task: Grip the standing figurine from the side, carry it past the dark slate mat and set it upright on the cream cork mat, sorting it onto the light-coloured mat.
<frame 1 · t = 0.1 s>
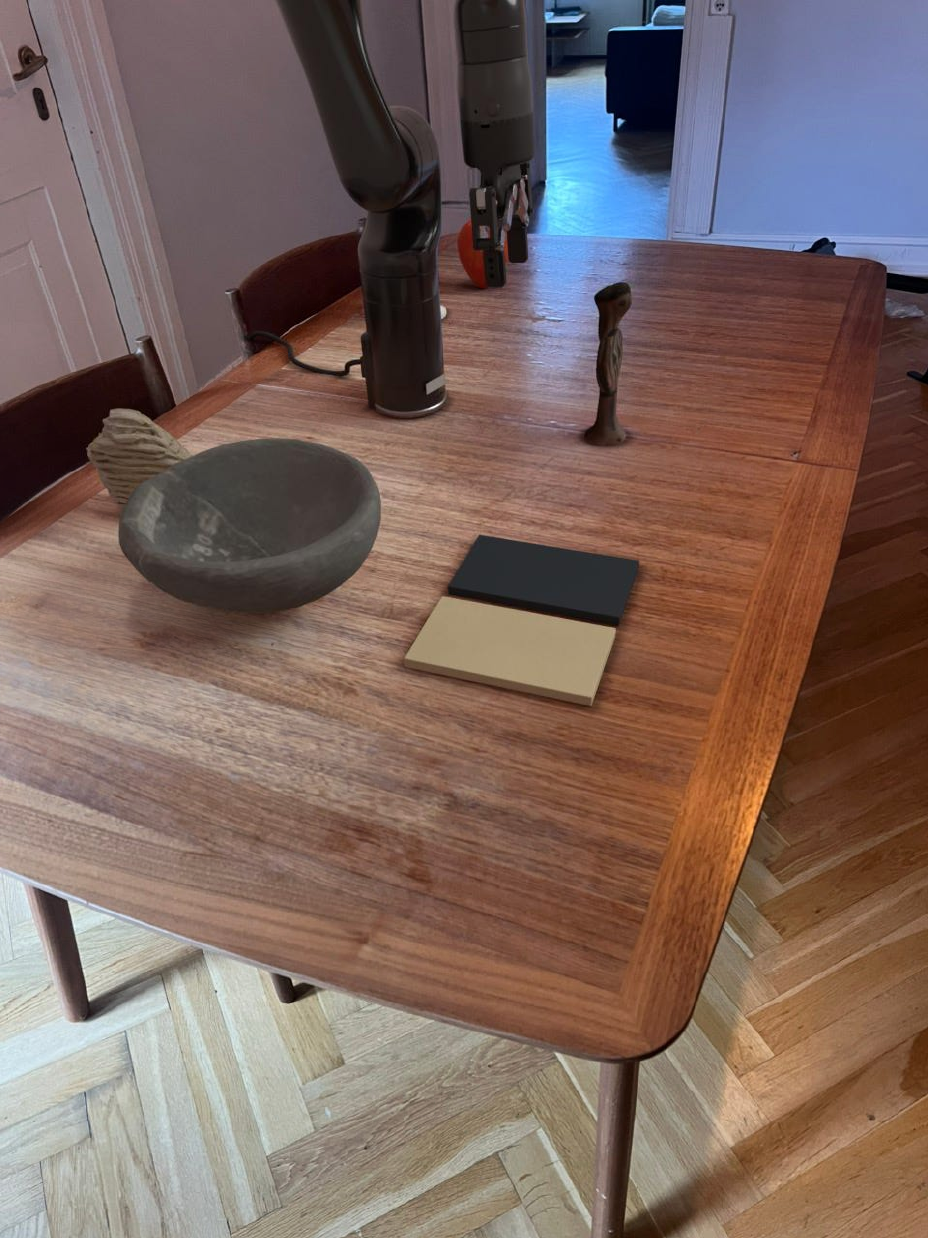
hand: (507, 273, 100), 17 cm above the table, tool pointing down, fingers open, 8 cm apart
dark mat: (544, 581, 83), on the table
fossil tooth: (167, 508, 96), on the table
apple: (484, 287, 149), on the table
cream mat: (511, 651, 75), on the table
bowl: (271, 583, 85), on the table
candle: (424, 316, 139), on the table
figurine: (603, 439, 105), on the table
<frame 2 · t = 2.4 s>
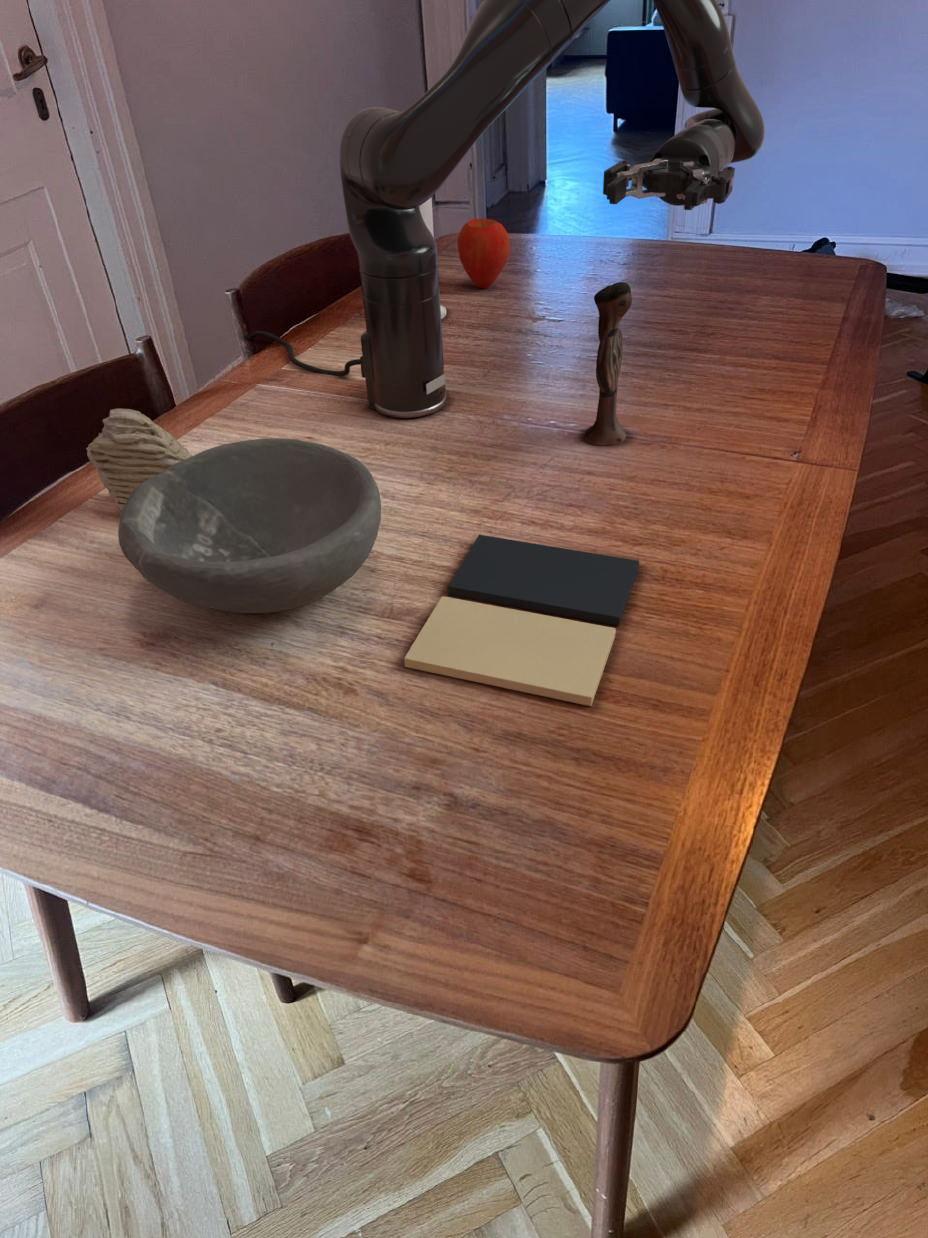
hand: (649, 197, 97), 24 cm above the table, tool horizontal, fingers open, 8 cm apart
nothing on the table moved.
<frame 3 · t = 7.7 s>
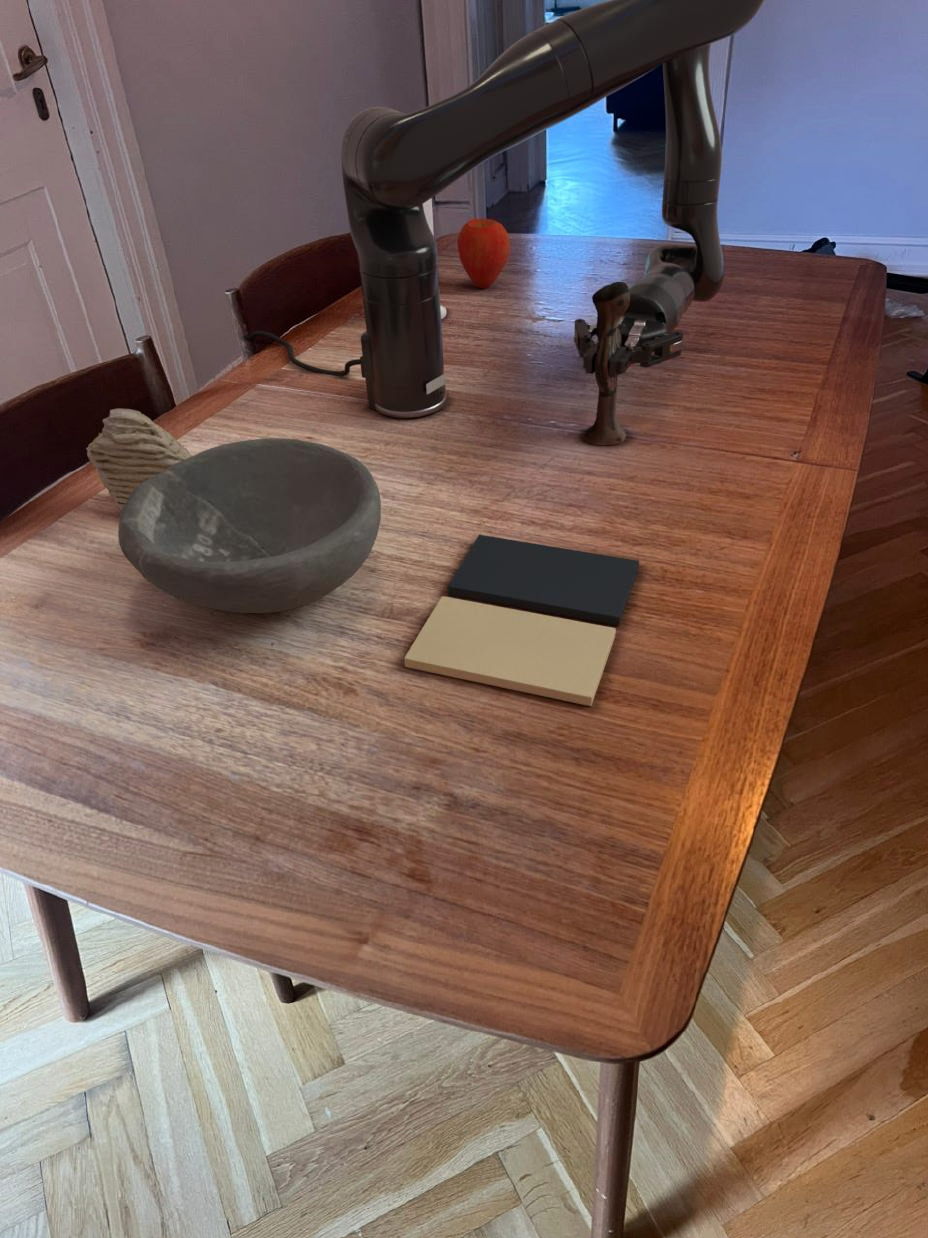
hand: (601, 366, 96), 10 cm above the table, tool horizontal, fingers closed on figurine
figurine: (603, 439, 105), on the table, touching gripper
everything else where it was.
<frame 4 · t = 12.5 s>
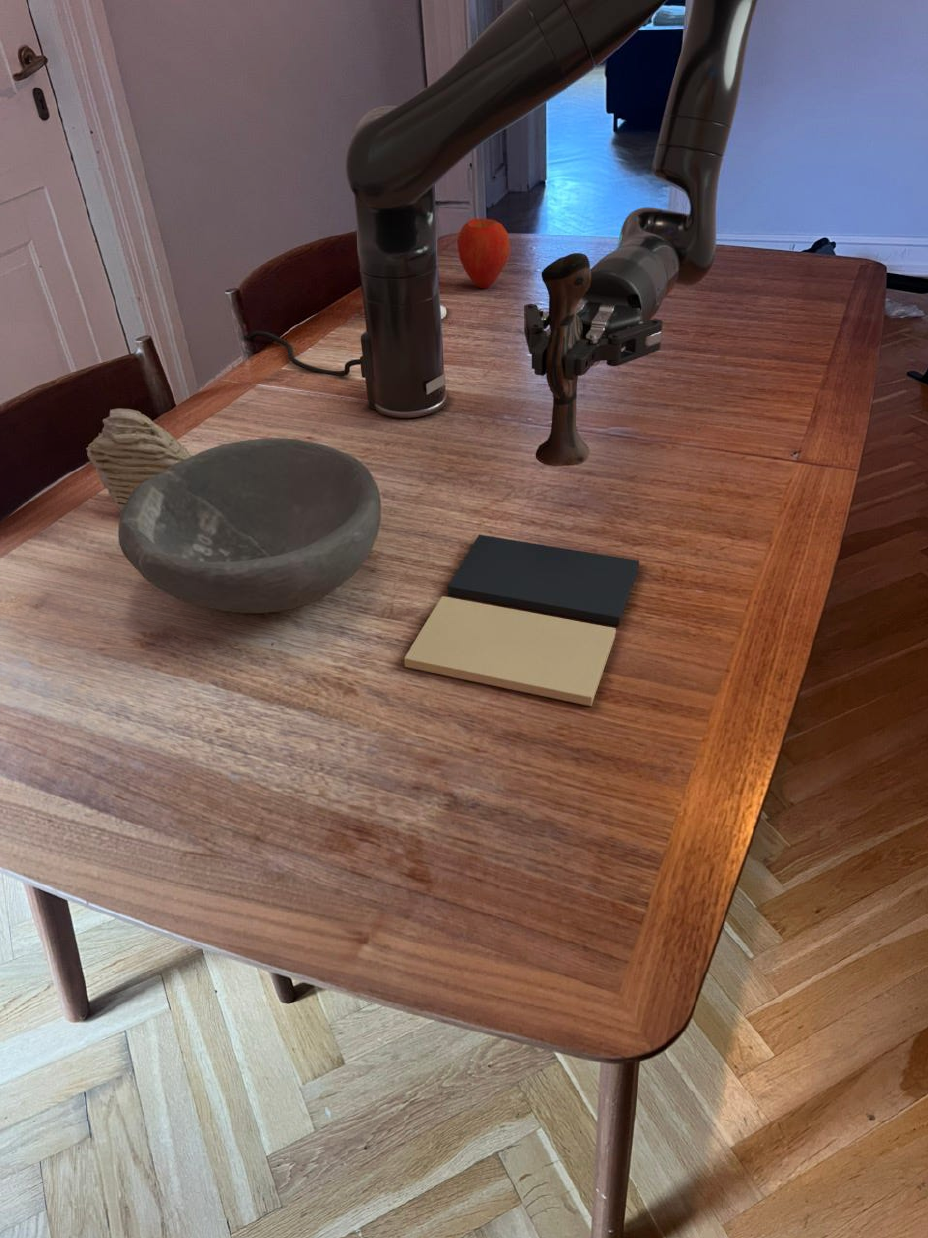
hand: (554, 366, 73), 20 cm above the table, tool horizontal, fingers closed on figurine
figurine: (560, 458, 82), point 10 cm above the table, touching gripper
everything else where it was.
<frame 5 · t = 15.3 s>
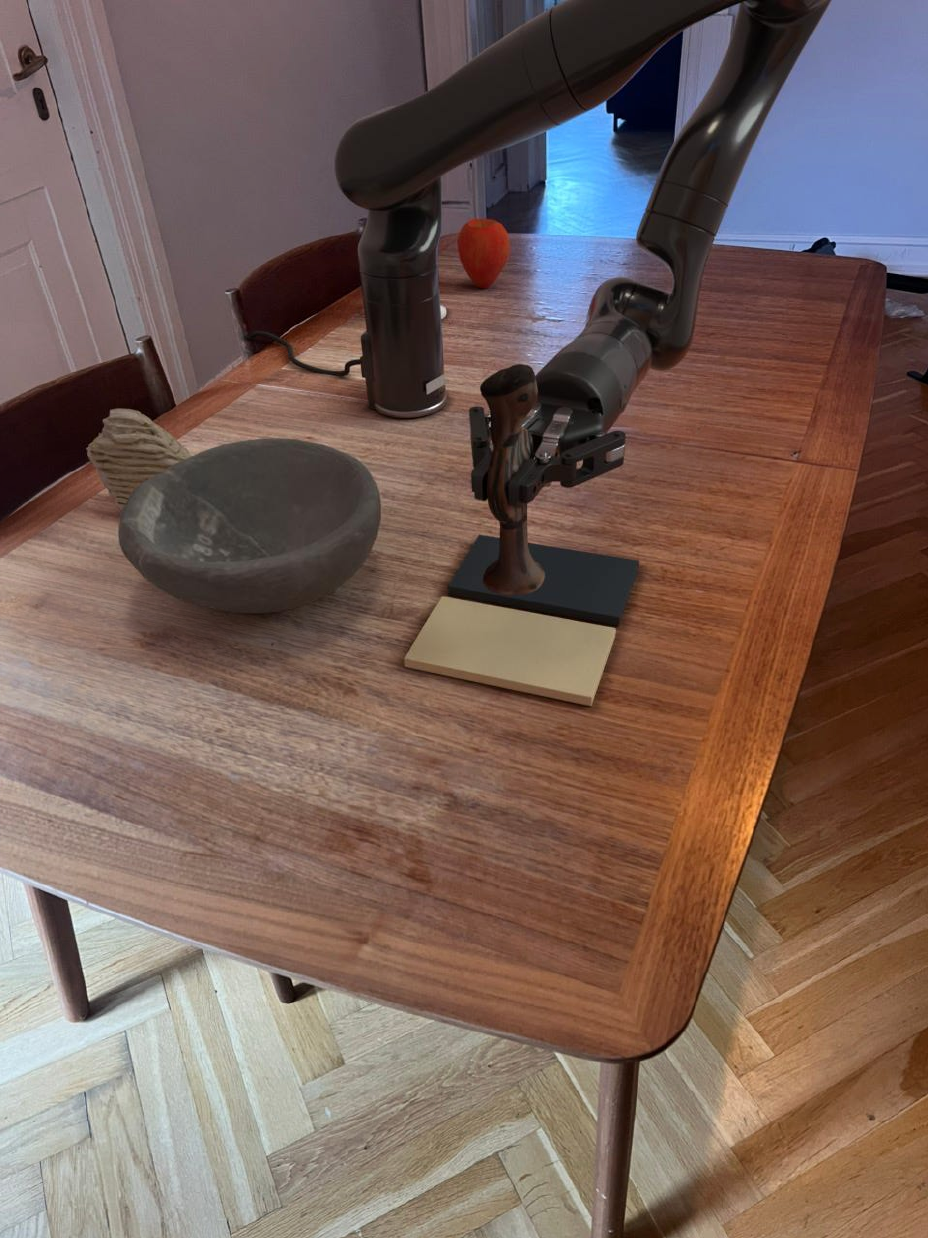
hand: (496, 492, 63), 17 cm above the table, tool horizontal, fingers closed on figurine
figurine: (511, 583, 71), point 7 cm above the table, touching gripper
everything else where it was.
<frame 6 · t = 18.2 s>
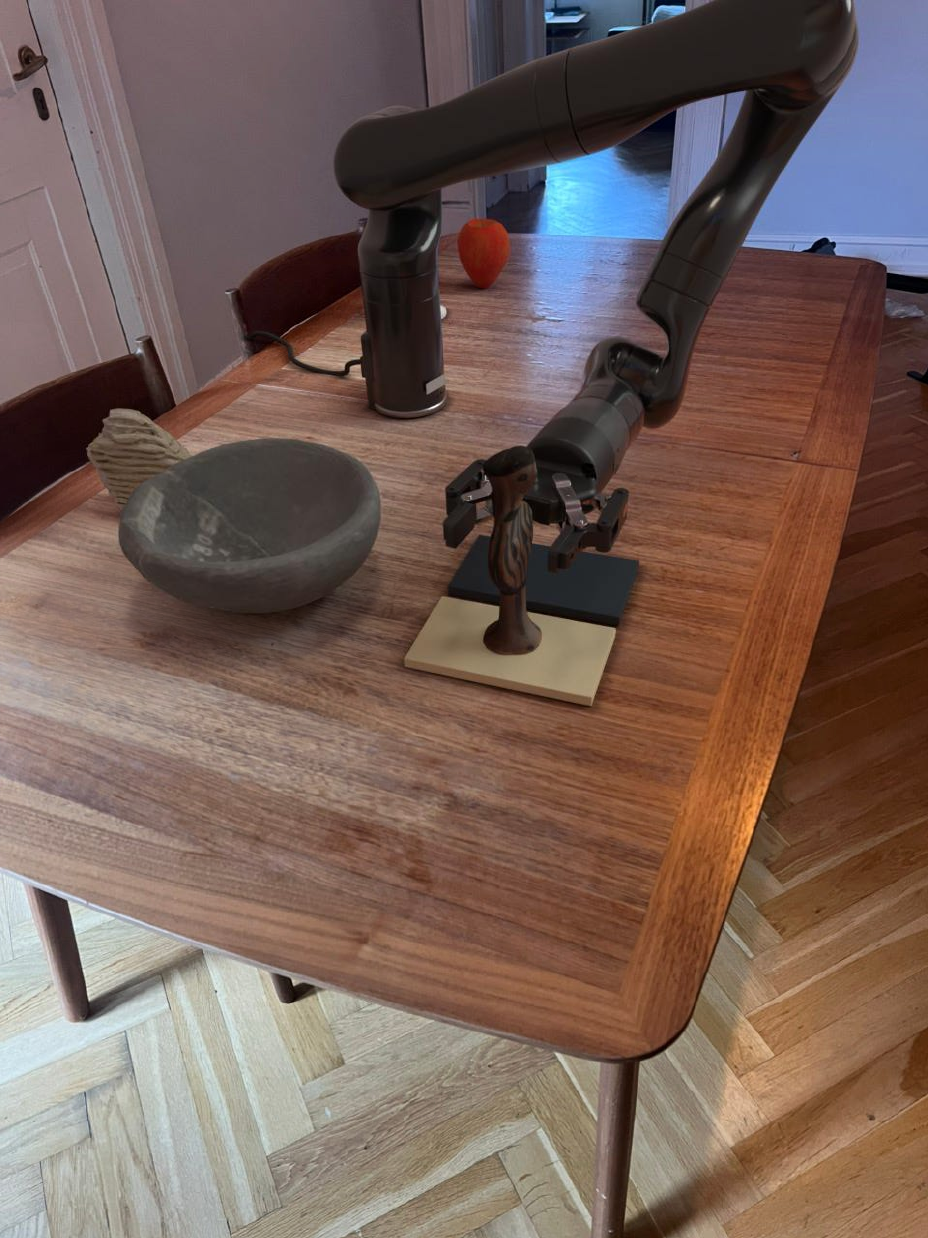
hand: (499, 550, 67), 12 cm above the table, tool horizontal, fingers open, 8 cm apart
figurine: (510, 643, 75), point 1 cm above the table, touching cream mat
everything else where it was.
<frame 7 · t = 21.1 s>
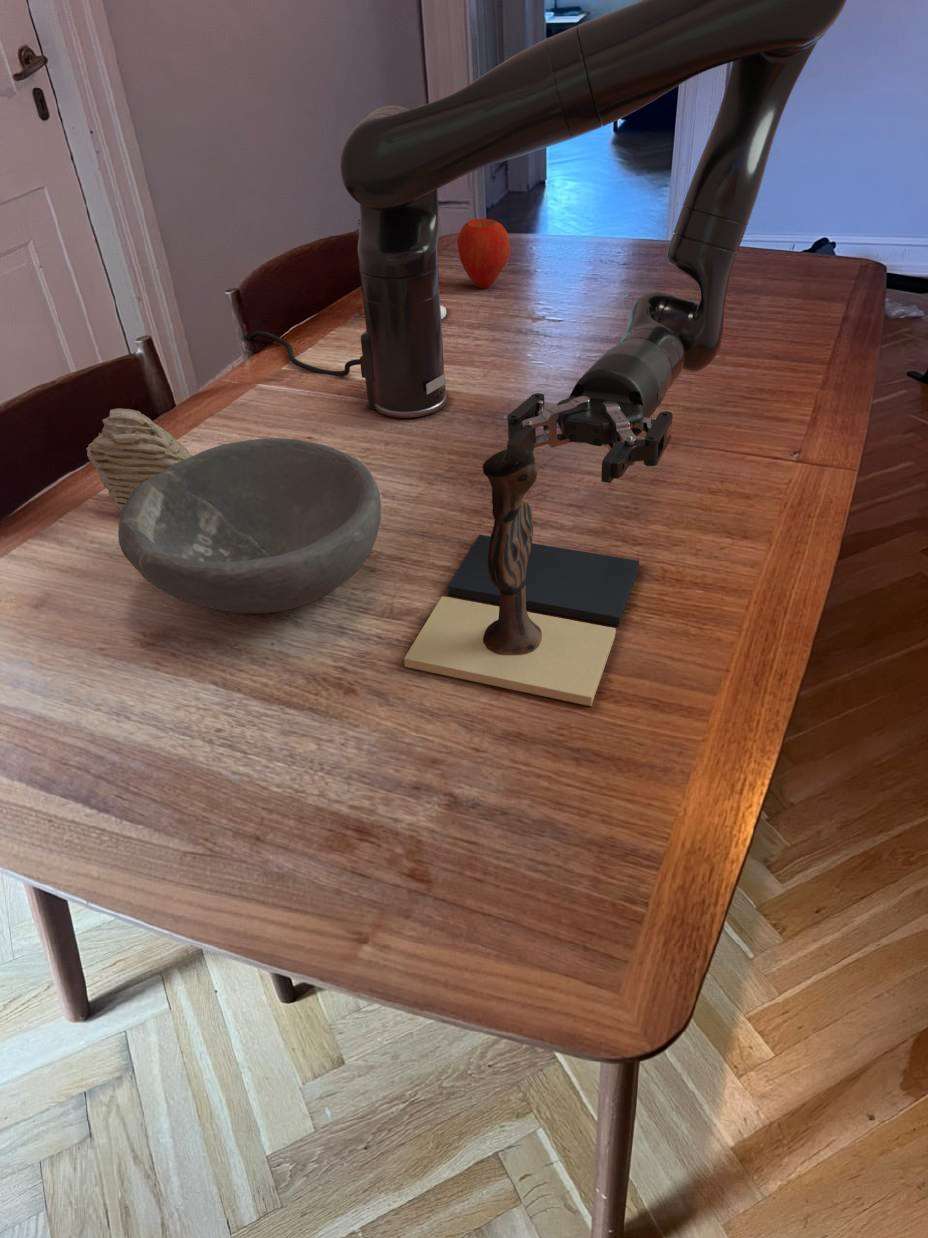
hand: (558, 464, 75), 12 cm above the table, tool horizontal, fingers open, 8 cm apart
nothing on the table moved.
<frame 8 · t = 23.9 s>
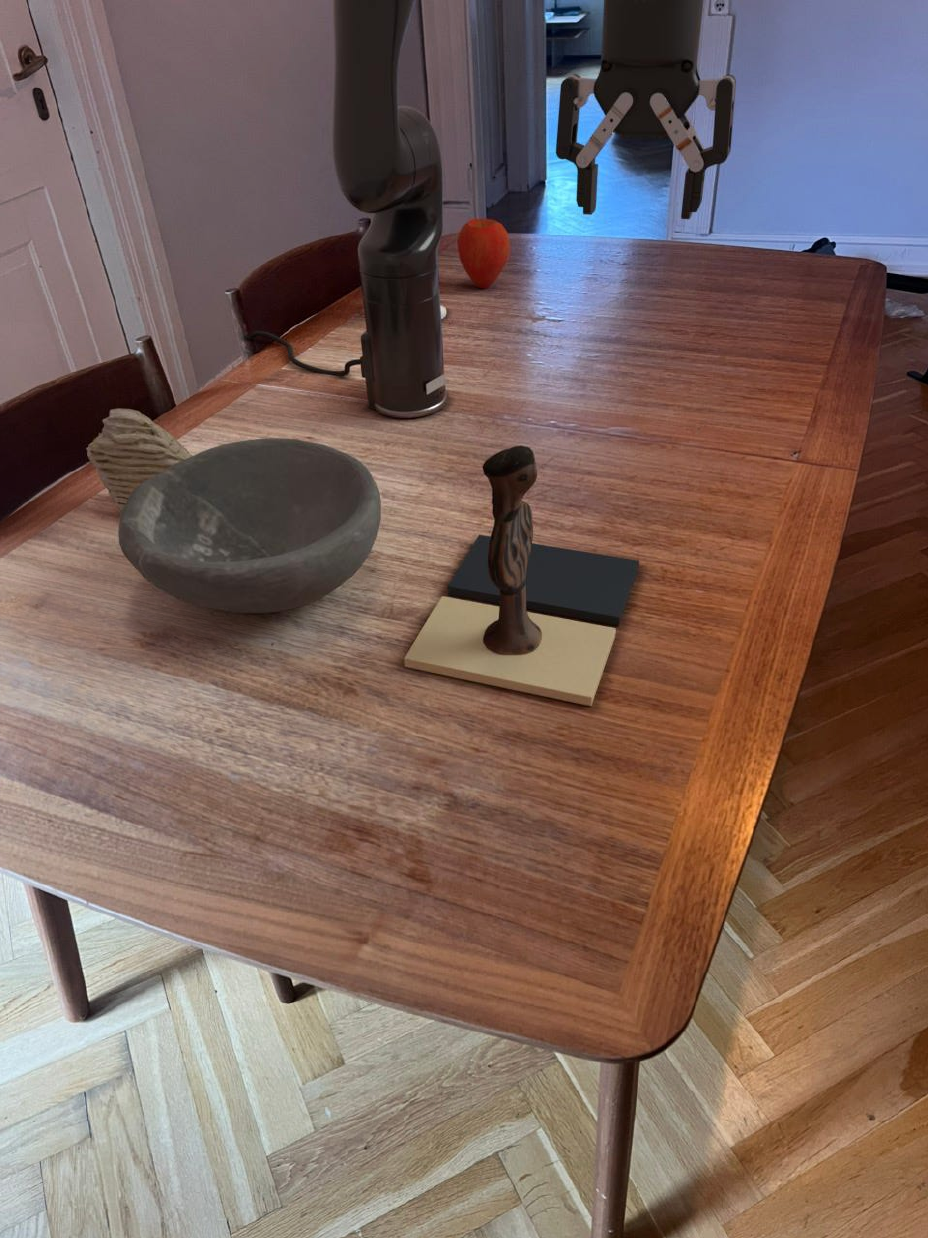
hand: (636, 214, 77), 28 cm above the table, tool pointing down, fingers open, 8 cm apart
nothing on the table moved.
at the end: figurine inside the target area on the cream mat (0.2 cm from its centre), point 0.8 cm above the cream mat's base; figurine tilted 0°; figurine touching cream mat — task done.
